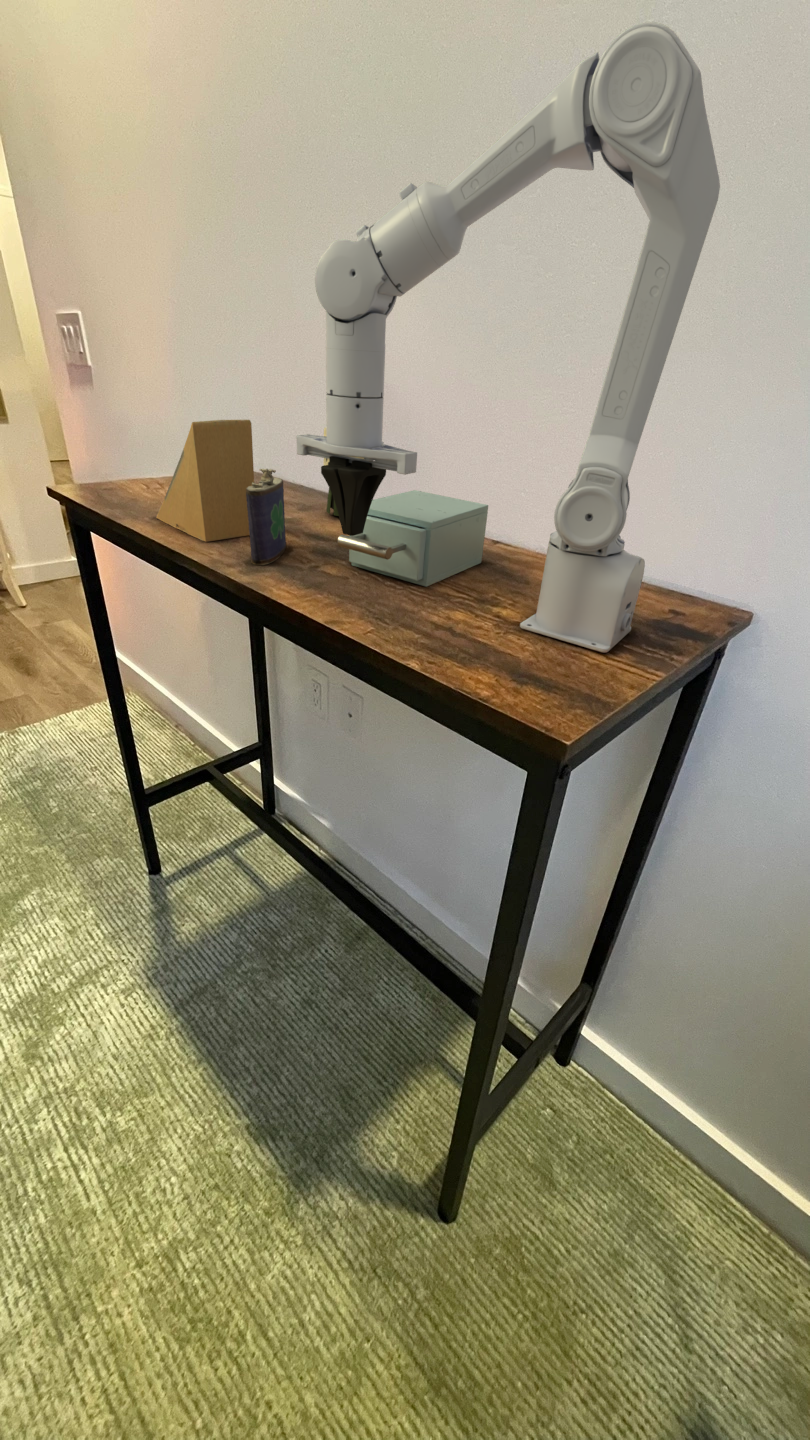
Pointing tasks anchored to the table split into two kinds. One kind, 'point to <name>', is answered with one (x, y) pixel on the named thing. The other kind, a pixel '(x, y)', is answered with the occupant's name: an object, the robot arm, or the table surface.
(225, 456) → the sandwich container
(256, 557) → the flask
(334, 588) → the table surface
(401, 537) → the drawer
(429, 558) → the cabinet
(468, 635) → the table surface
